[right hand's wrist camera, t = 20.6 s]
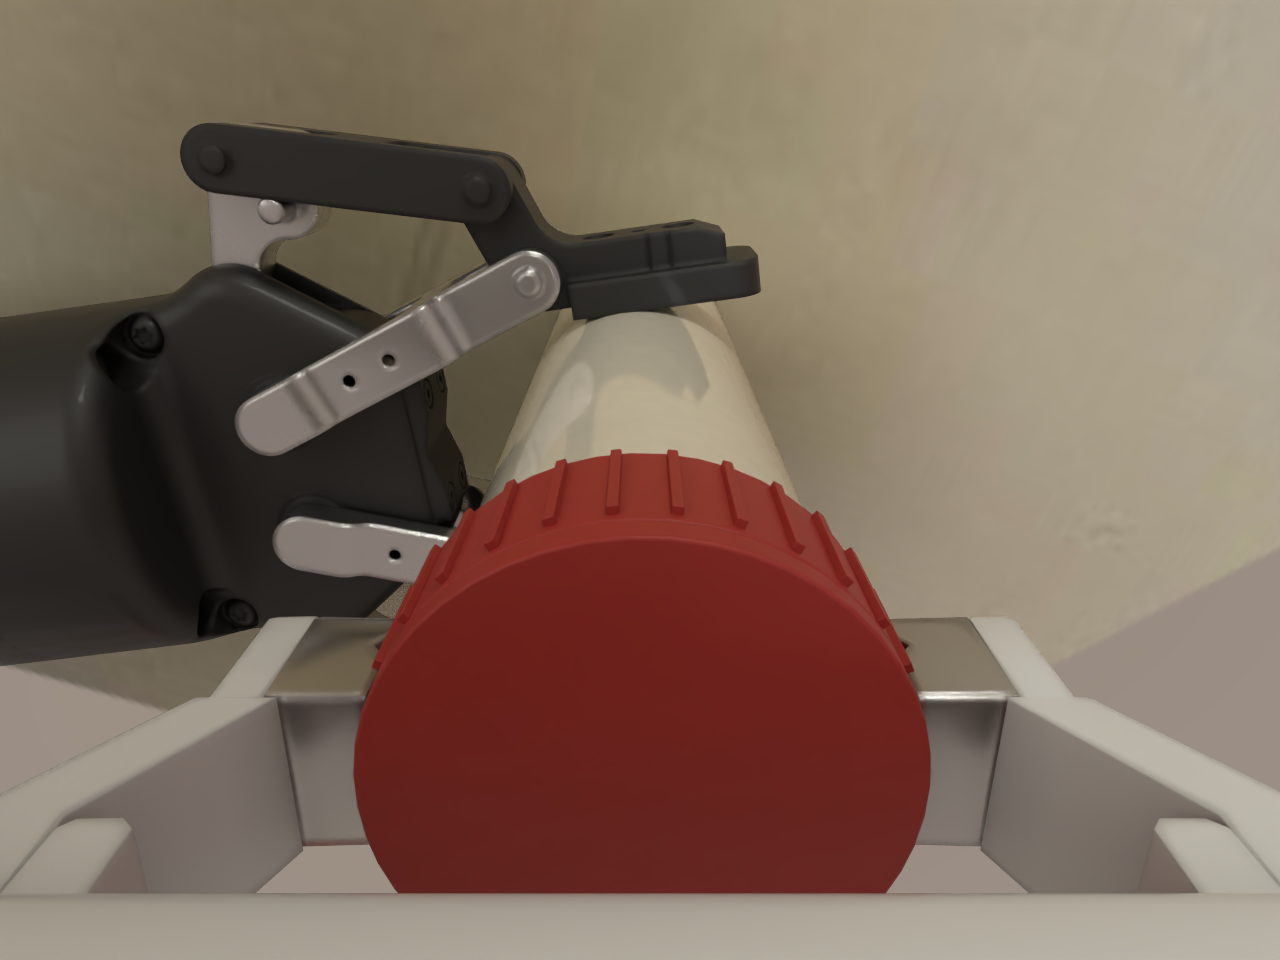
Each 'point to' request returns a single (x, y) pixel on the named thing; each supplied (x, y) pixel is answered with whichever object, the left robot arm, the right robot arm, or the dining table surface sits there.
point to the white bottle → (640, 397)
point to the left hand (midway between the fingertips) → (761, 395)
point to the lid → (642, 697)
